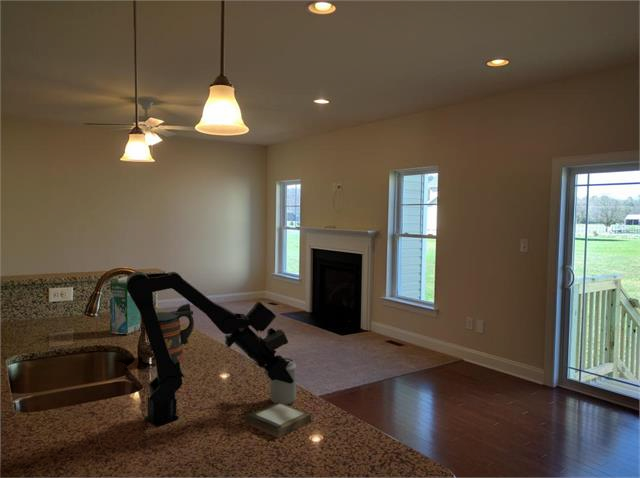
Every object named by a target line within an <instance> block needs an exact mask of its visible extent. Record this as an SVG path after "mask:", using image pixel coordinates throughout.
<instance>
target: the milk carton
mask: <svg viewBox="0 0 640 478" xmlns="http://www.w3.org/2000/svg"><path fill="white" fill-rule="evenodd" d="M128 276H129V275H123V276H121V277H119V278H118V279H115V280H114V281H112V282H110V283H109V309H110V310H109V312H110V313H109V318H110V319H109V323H110V324H109V329H110V331H109V332H119V333H130V332H132V331H135V330H138V329H139V327H140V328H141V314H140V311H139V310H138V308H137V306H136V305H135V303H134V301H133V300H132V298H131V296H130V294H129V292H128V290H127V285H126V280H127V278H128Z"/></svg>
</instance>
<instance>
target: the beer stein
mask: <svg viewBox="0 0 640 478" xmlns="http://www.w3.org/2000/svg"><path fill="white" fill-rule="evenodd" d="M156 315H157V318H158V321H159V324H160V328H161V331H162V334H163V337H164V340H165V343H166V346H167V349H168V352H169V354H170V356H171V358H173V357H175V356H177V358H178V360H179V361H180V360H182V358H183V356H184V353H183V345H185V346H186V345H187V344H188V343H189V340H188V339H189V338H190V336H191V333H193V330H194V326H195V320H194V318H193V315H194V311H193V310H191V305H190V302H189V303H188V302H187V303H186V304H185V303H184V304H182V305H181V306H179V307H178V308H177V310H173V311H170V312H167V311H163V312H161V311H160V312H159V311H158V312H156ZM183 317H185V318H187V319H188V321H189V323H188V326H187V327H186V328H185V329H181V324H180V318H183ZM152 364H153V365H152V366H156V365H155V357H153V358H152Z"/></svg>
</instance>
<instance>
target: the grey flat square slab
mask: <svg viewBox="0 0 640 478" xmlns="http://www.w3.org/2000/svg"><path fill="white" fill-rule="evenodd" d="M244 422H245V423H244V424H246V425H248V426H250V427H252V428H255V429H257V430H259V431H261V432H263V433H266V434H267V435H270V436H272V437H275V438H277V439H279V438H281V437H283V436H286V435H288V434H290V433H291V432H294V431H296V430H298V429H300V428H301V427H304V426H306V425H307V424H310V423H311V422H312V413H309V412H306V411H303V410H300V409H299V408H298V409H297V408H295V407H293V406H290V405H289V404H287V405H285V404H282V403H280V402H277V403H271V404H270V405H268V406H265V407H264V408H261V409H258V410H256V411H253V412H249V413H246V415H245V419H244Z"/></svg>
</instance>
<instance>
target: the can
mask: <svg viewBox="0 0 640 478" xmlns="http://www.w3.org/2000/svg"><path fill="white" fill-rule="evenodd" d="M283 358H284V359H285V360H286V361H287V362H288V365H287V366H286V370H287V371H288V373H289V374H290V376H291V377H292V379H293V380H294V382H293V383H292V384H290V383H286V382H283V381H278V380H273V381H272V380H271V379H270V378H269V379H270V380H269V381H270V383H269V384H270V385H269V386H270V387H269V391H270V392H269V393H270V394H269V397H270V398H269V399H270V400H271V402H273V404H275V403H277V402H280V403H282V404H285V405H290V404H293V402H294V401H296V399H297V364H296V363H295V360H294V359H293V358H291V357H283Z"/></svg>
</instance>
